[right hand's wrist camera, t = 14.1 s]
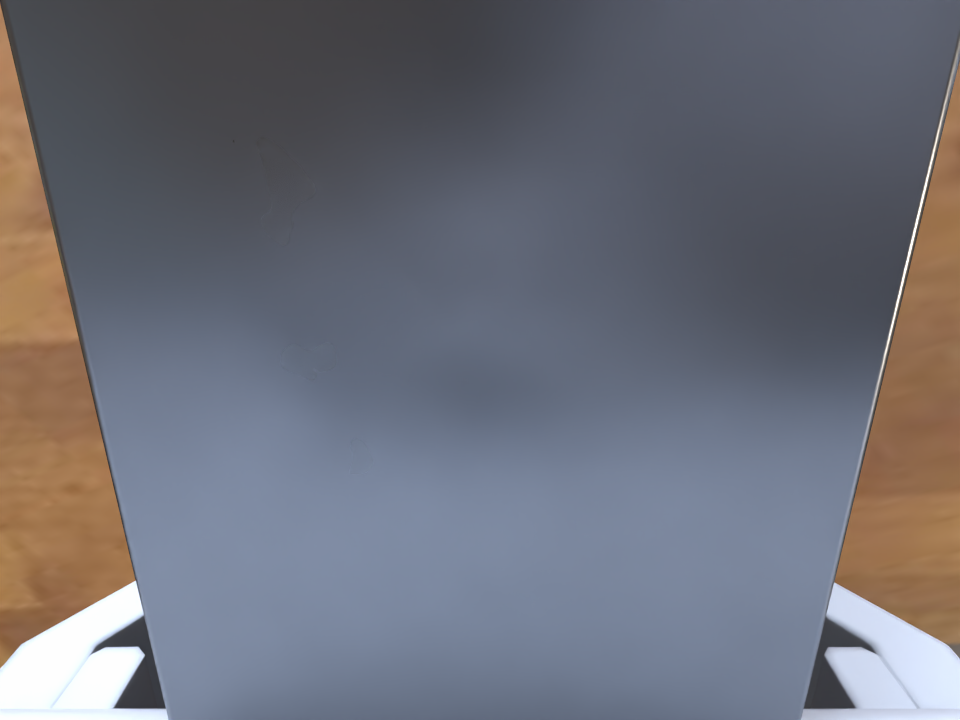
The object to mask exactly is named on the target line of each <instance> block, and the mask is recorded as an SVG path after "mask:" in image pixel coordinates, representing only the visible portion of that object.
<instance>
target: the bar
mask: <svg viewBox="0 0 960 720" xmlns="http://www.w3.org/2000/svg"><path fill="white" fill-rule="evenodd" d="M0 4H1V8H2V12H3V17H4V21H5V25H6V29H7V34H8V38H9V42H10V46H11V51H12V55H13V59H14V63H15V68H16V72H17V76H18V81H19V85H20V89H21V93H22V98H23V102H24V106H25V110H26V115H27V119H28V123H29V127H30V132H31V136H32V140H33V144H34V149H35V153H36V157H37V162H38V166H39V170H40V174H41V179H42V183H43V187H44V191H45V196H46V200H47V204H48V208H49V213H50V217H51V221H52V225H53V230H54V234H55V238H56V243H57V247H58V251H59V255H60V260H61V264H62V268H63V272H64V277H65V281H66V285H67V289H68V294H69V298H70V302H71V306H72V311H73V315H74V319H75V323H76V328H77V332H78V336H79V341H80V345H81V349H82V353H83V358H84V362H85V366H86V370H87V375H88V379H89V383H90V387H91V392H92V396H93V400H94V404H95V409H96V413H97V417H98V422H99V426H100V430H101V434H102V439H103V443H104V447H105V451H106V456H107V460H108V464H109V468H110V473H111V477H112V481H113V485H114V490H115V494H116V498H117V503H118V507H119V511H120V515H121V520H122V524H123V528H124V532H125V537H126V541H127V545H128V549H129V554H130V558H131V562H132V566H133V571H134V575H135V579H136V584H137V588H138V592H139V596H140V601H141V605H142V609H143V613H144V618H145V622H146V626H147V630H148V635H149V639H150V643H151V647H152V652H153V656H154V660H155V665H156V669H157V673H158V677H159V682H160V686H161V690H162V694H163V699H164V703H165V707H166V711H167V716H168V720H801V718H802V714H803V709H804V705H805V701H806V697H807V693H808V689H809V684H810V680H811V676H812V672H813V668H814V664H815V659H816V655H817V651H818V647H819V643H820V639H821V635H822V630H823V626H824V622H825V618H826V614H827V610H828V605H829V601H830V597H831V593H832V589H833V585H834V580H835V576H836V572H837V568H838V564H839V560H840V555H841V551H842V547H843V543H844V539H845V535H846V530H847V526H848V522H849V518H850V514H851V510H852V505H853V501H854V497H855V493H856V489H857V485H858V481H859V476H860V472H861V468H862V464H863V460H864V456H865V451H866V447H867V443H868V439H869V435H870V431H871V426H872V422H873V418H874V414H875V410H876V406H877V401H878V397H879V393H880V389H881V385H882V381H883V376H884V372H885V368H886V364H887V360H888V356H889V352H890V347H891V343H892V339H893V335H894V331H895V327H896V322H897V318H898V314H899V310H900V306H901V302H902V297H903V293H904V289H905V285H906V281H907V277H908V272H909V268H910V264H911V260H912V256H913V252H914V247H915V243H916V239H917V235H918V231H919V227H920V223H921V218H922V214H923V210H924V206H925V202H926V198H927V193H928V189H929V185H930V181H931V177H932V173H933V168H934V164H935V160H936V156H937V152H938V148H939V143H940V139H941V135H942V131H943V127H944V123H945V118H946V114H947V110H948V106H949V102H950V98H951V94H952V89H953V85H954V81H955V77H956V73H957V69H958V64H959V60H960V0H0Z"/></svg>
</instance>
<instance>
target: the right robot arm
mask: <svg viewBox="0 0 960 720" xmlns="http://www.w3.org/2000/svg"><path fill="white" fill-rule="evenodd" d="M0 720H168V716H167V711H166V707H165V703H164V699H163V694H162V690H161V686H160V682H159V677H158V673H157V669H156V665H155V660H154V656H153V652H152V647H151V643H150V639H149V635H148V630H147V626H146V622H145V618H144V613H143V609H142V605H141V601H140V596H139V592H138V588H137V584H136V581H134V582H133V583H131V584H129V585H127V586H125V587H124V588H122V589H120V590H118V591H116V592H115V593H113V594H111V595H109V596H107V597H106V598H104V599H102V600H100V601H98V602H97V603H95V604H93V605H91V606H89V607H88V608H86V609H84V610H82V611H80V612H79V613H77V614H75V615H73V616H71V617H70V618H68V619H66V620H64V621H62V622H61V623H59V624H57V625H55V626H53V627H52V628H50V629H48V630H46V631H44V632H43V633H41V634H39V635H37V636H35V637H34V638H32V639H30V640H28V641H26V642H25V643H23V644H21V645H20V647H19V648H18V649H17V650H16V651H15V652H14V654H13V655H12V656H11V657H10V658H9V659H8V661H7V662H6V663H5V664H4V665H3V666H2V668H1V669H0ZM801 720H960V659H959V657H958V656H957V655H956V654H955V653H954V652H953V651H952V649H951V648H950V647H949V646H948V645H946V644H945V643H943V642H941V641H939V640H937V639H936V638H934V637H932V636H930V635H928V634H927V633H925V632H923V631H921V630H919V629H918V628H916V627H914V626H912V625H910V624H908V623H907V622H905V621H903V620H901V619H899V618H898V617H896V616H894V615H892V614H890V613H889V612H887V611H885V610H883V609H881V608H880V607H878V606H876V605H874V604H872V603H870V602H869V601H867V600H865V599H863V598H861V597H860V596H858V595H856V594H854V593H852V592H851V591H849V590H847V589H845V588H843V587H842V586H840V585H838V584H836V583H834V585H833V589H832V593H831V597H830V601H829V605H828V610H827V614H826V618H825V622H824V626H823V630H822V635H821V639H820V643H819V647H818V651H817V655H816V659H815V664H814V668H813V672H812V676H811V680H810V684H809V689H808V693H807V697H806V701H805V705H804V709H803V714H802V718H801Z"/></svg>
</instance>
